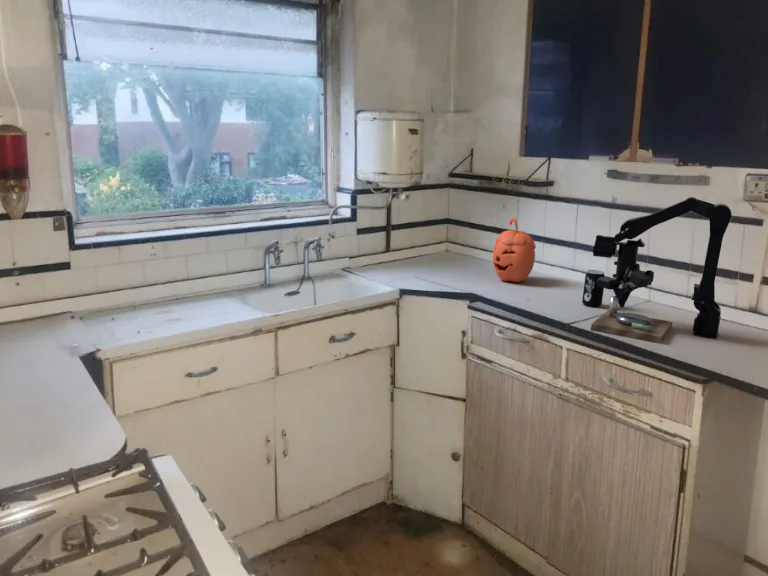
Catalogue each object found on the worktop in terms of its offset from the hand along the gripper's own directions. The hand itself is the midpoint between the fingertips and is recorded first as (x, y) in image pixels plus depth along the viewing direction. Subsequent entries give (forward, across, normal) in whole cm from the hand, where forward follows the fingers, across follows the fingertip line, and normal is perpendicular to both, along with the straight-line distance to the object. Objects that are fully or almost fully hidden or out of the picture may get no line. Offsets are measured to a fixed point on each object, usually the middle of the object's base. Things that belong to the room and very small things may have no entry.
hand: (621, 307), depth 217 cm
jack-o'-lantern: (+4, +3, +58) cm, 58 cm away
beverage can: (+5, +6, +18) cm, 20 cm away
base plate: (+5, -3, -8) cm, 9 cm away
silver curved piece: (+2, -3, -6) cm, 7 cm away
